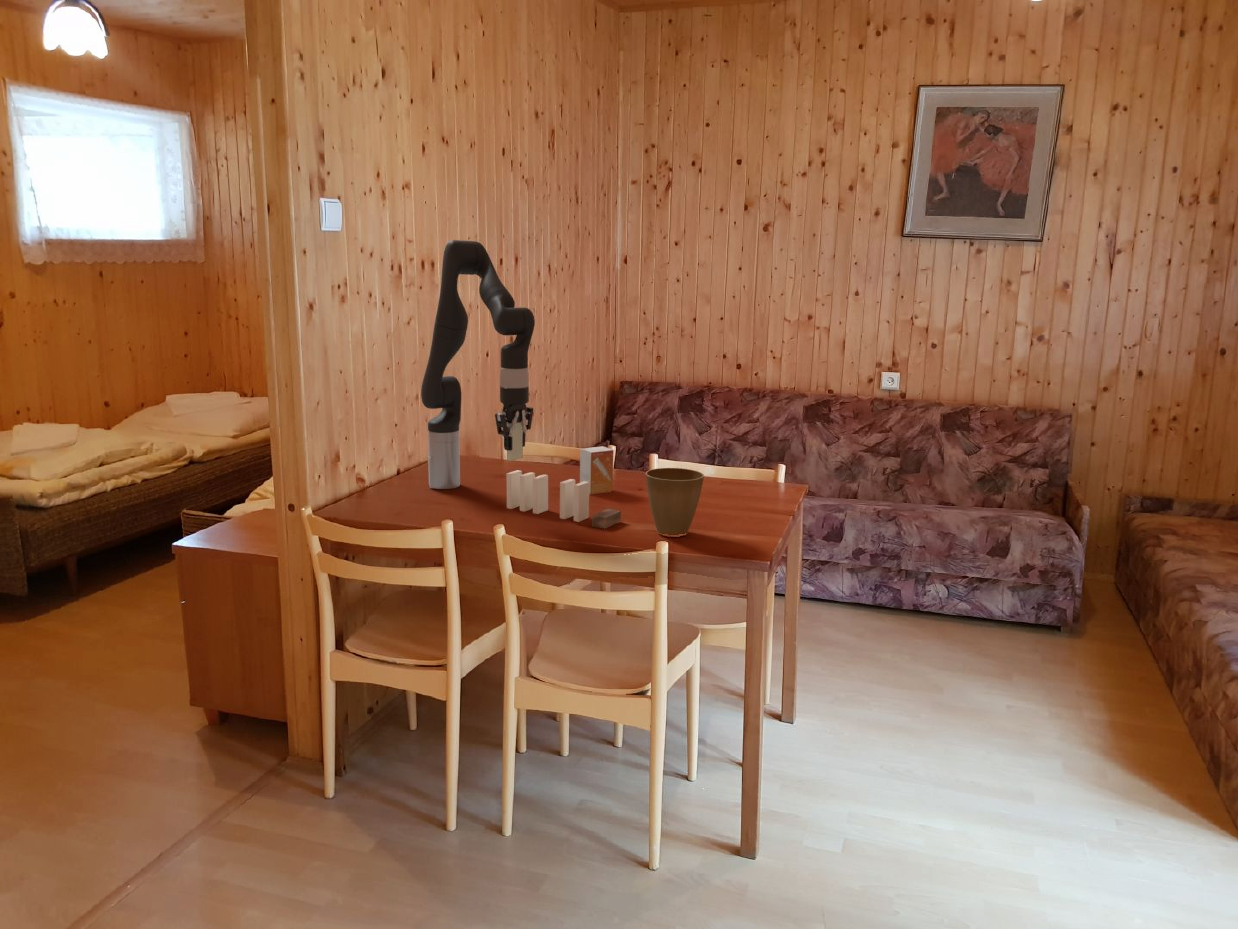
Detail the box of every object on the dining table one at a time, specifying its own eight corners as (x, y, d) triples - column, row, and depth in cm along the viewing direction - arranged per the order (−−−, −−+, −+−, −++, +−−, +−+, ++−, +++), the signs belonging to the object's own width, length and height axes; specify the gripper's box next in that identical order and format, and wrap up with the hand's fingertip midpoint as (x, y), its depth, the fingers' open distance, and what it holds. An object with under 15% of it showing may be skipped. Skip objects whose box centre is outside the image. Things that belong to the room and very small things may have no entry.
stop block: (591, 526, 255) (592, 515, 255) (607, 519, 262) (608, 508, 261) (604, 528, 253) (605, 517, 253) (620, 521, 260) (620, 511, 259)
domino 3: (519, 510, 269) (519, 475, 267) (530, 506, 273) (530, 472, 271) (524, 511, 268) (524, 476, 266) (534, 507, 272) (534, 473, 270)
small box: (590, 495, 287) (590, 452, 284) (579, 490, 292) (579, 448, 289) (613, 492, 291) (614, 449, 288) (601, 487, 296) (602, 445, 293)
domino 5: (559, 518, 262) (560, 482, 260) (570, 514, 266) (570, 478, 264) (564, 519, 261) (565, 483, 259) (574, 515, 266) (575, 479, 263)
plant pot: (706, 542, 244) (708, 480, 240) (647, 542, 243) (649, 480, 239) (696, 525, 258) (699, 466, 255) (641, 525, 257) (642, 466, 253)
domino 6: (573, 521, 260) (573, 484, 258) (583, 516, 264) (584, 481, 262) (578, 521, 259) (579, 485, 257) (588, 517, 263) (589, 482, 261)
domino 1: (506, 460, 256) (506, 422, 254) (518, 456, 260) (518, 420, 258) (511, 460, 255) (511, 423, 253) (522, 457, 260) (522, 420, 257)
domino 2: (506, 508, 271) (506, 473, 269) (517, 504, 275) (517, 470, 273) (511, 509, 270) (511, 474, 268) (522, 505, 275) (521, 470, 272)
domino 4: (532, 513, 267) (532, 477, 264) (543, 509, 271) (543, 474, 269) (537, 514, 266) (537, 478, 264) (548, 510, 270) (548, 475, 268)
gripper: (519, 380, 261) (519, 442, 265) (485, 386, 249) (486, 451, 253) (542, 383, 258) (541, 445, 261) (509, 389, 246) (509, 454, 249)
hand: (514, 448), depth 257 cm, fingers closed on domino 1, 5 cm apart
